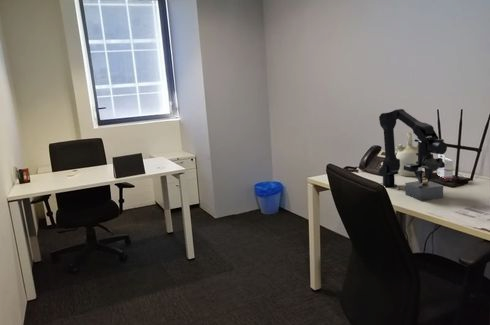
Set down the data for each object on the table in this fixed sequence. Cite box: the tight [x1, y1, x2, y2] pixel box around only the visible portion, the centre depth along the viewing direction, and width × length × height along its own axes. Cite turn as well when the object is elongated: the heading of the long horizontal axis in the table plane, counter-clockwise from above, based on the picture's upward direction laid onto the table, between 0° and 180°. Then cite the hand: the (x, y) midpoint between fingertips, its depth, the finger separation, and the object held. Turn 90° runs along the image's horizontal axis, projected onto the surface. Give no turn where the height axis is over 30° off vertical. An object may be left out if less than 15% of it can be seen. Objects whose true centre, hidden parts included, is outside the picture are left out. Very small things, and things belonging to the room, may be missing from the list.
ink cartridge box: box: [436, 154, 454, 179], centre depth 214 cm, size 9×5×15 cm, turn 178°
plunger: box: [421, 177, 428, 185], centre depth 190 cm, size 9×9×8 cm
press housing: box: [404, 180, 444, 202], centre depth 190 cm, size 12×12×6 cm
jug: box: [395, 132, 418, 177], centre depth 231 cm, size 15×16×25 cm
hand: (423, 183), depth 190 cm, fingers closed on plunger, 3 cm apart
